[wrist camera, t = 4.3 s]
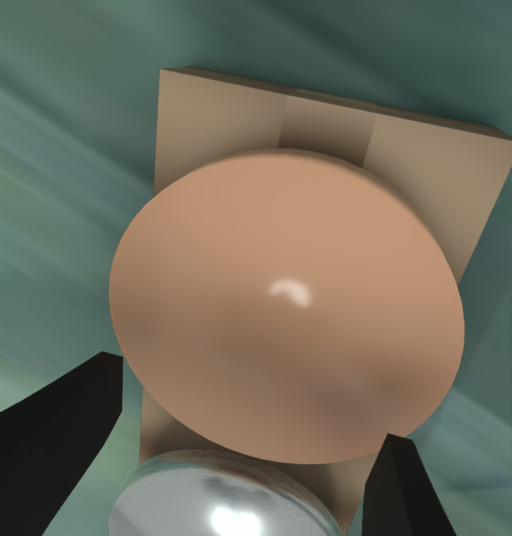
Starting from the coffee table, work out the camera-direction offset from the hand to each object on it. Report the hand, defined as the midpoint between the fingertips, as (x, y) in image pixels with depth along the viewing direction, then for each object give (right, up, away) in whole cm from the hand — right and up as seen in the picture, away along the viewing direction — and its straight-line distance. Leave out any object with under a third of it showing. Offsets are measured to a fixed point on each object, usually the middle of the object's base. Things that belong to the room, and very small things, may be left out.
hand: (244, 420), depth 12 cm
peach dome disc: (+2, +4, +6) cm, 7 cm away
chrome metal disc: (0, -7, +12) cm, 14 cm away
